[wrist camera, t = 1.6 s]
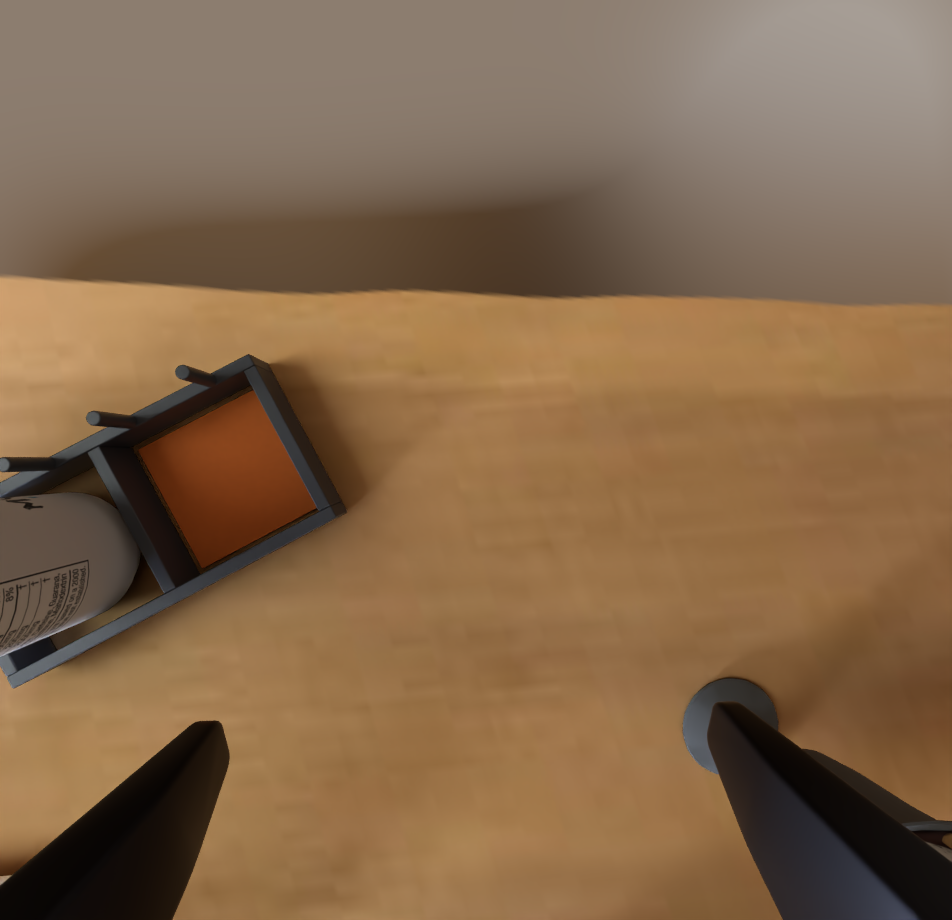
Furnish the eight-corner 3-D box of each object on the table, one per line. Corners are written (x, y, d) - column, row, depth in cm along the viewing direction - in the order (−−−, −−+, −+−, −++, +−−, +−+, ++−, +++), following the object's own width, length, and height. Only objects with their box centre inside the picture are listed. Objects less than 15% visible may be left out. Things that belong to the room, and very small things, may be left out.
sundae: (671, 654, 23) (1074, 1029, 8) (799, 667, 23) (1433, 1058, 8) (656, 783, 23) (1032, 1409, 8) (785, 795, 23) (1393, 1429, 8)
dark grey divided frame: (348, 512, 22) (322, 523, 18) (53, 668, 22) (-39, 715, 18) (267, 362, 22) (225, 341, 18) (-30, 517, 22) (-141, 529, 18)
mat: (323, 504, 22) (322, 505, 22) (204, 567, 22) (201, 568, 22) (260, 387, 22) (258, 386, 22) (140, 449, 22) (137, 449, 22)
